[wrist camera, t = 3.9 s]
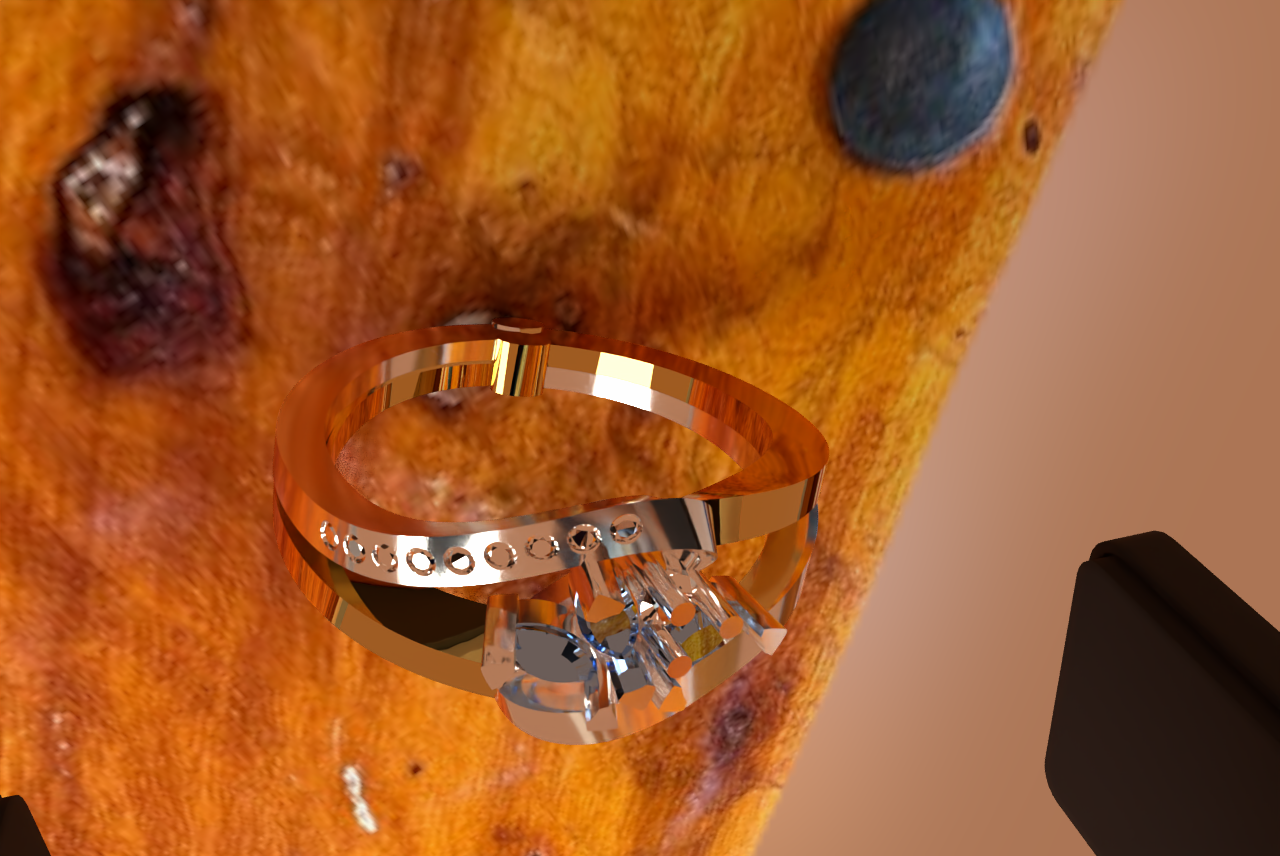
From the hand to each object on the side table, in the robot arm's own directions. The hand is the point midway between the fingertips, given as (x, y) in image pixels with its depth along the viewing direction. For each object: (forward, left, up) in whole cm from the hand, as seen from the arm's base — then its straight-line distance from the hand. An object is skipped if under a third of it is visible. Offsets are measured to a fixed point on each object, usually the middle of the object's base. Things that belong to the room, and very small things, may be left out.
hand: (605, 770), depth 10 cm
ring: (0, 0, -10) cm, 10 cm away
